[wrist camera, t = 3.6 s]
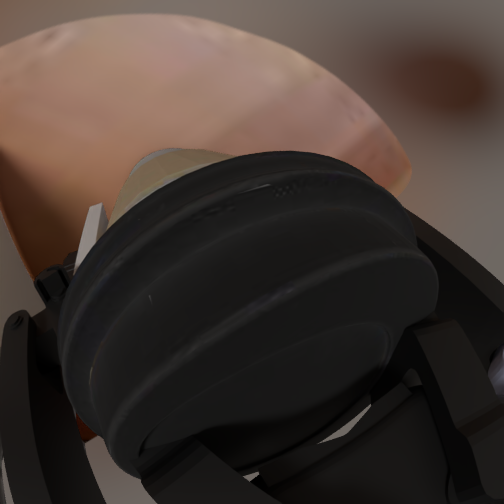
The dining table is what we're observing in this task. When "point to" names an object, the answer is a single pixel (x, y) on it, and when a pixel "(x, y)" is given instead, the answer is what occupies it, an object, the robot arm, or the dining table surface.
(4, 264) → the gate
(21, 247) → the dining table surface
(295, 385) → the coffee cup
